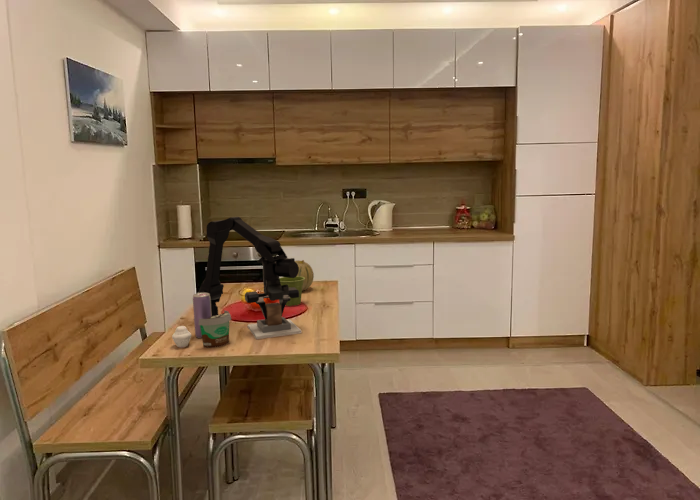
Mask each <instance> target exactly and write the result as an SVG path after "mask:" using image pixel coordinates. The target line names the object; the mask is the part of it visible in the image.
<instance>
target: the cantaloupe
mask: <svg viewBox="0 0 700 500" xmlns="http://www.w3.org/2000/svg"><path fill="white" fill-rule="evenodd" d="M295 262H296V263H297V265H298V267H299V272H298V275H297V276H299V277H304V278H305V279H304V281H303V286H302V292H304V291H306V290H307V289H309V288H310V287H311V286H312V284H313V282H314V277H315V276H314V275H315V274H314V270H313V268H312V266H311V264H310V263H308V262H306V261H305V260H304V259H302V260H295Z"/></svg>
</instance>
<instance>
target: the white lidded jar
mask: <svg viewBox="0 0 700 500" xmlns="http://www.w3.org/2000/svg"><path fill="white" fill-rule="evenodd" d="M191 337H192V333H191V332H190V331H189V330H188V328H187V327H186V326H185V325H179V326H177V327H176V328H175V331H174V333H173V334H172V335H171V338H172V340H173V342H174V344H175V345H176V347H178V348H186V347H188V345H189V343H190V342H191Z"/></svg>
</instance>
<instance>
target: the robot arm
mask: <svg viewBox="0 0 700 500" xmlns="http://www.w3.org/2000/svg"><path fill="white" fill-rule="evenodd" d="M230 231H234V232H236V234H238V235H239V236H240V237H242V238H244V239H245V240H246V241H247V242H249V243H250V244H252V246H253V247H254V249H255V251H256V252H257V253H258V255H259V256H260V258H259V259H258V260H257V261H256V262H257V263H258V264H262V280H263V281H262V282H263V292H262V293H261V292H260V293H258V292H257V291H256V290H255V291H246V292H245V293H244V300H245V302H246V303H247V304H251V303H252V304H254V303H255V304H256V305H259V308H260V310H261V313H262V315H263V317H264V319H267V314H266V308H265V304H266V301H265V299H269V301H271V302H273V301H278V303H279V304H280V305H281V312H282V315H283V313H284V310H285V308H286V306H285V305H286V303H287V302H288V301H290V300H291V299H290V297H291V298H298V297H299V291H298V290H297V289H296V288H295V287H292V288H289V287H288V285H281V283H280V278H282V277H288V278H295V277H296V276H297V275H298V272H299V267H298V265H297V263H296V262H295V261H296V260H295V257H288V256H287V254H286V253H285V251H284V249H283V247H282V246H281V243H280V242H279V240H277V239H275V238H274V237H270V236H267V235H264V234H262V233H261V232H259V231H258V230H256V229H255V228H253V227H252V226H251V225H249V224H248V223H247V222H246V221H244V220H243V218H242V217H240V216H231V217H228V218H225V219H221V220H220V219H219V220H212V221H209V222H208V223H207V225H206V238H207V239H208V242H209V246H208V256H207V264H206V273H205V278H204V280H203V281H202V283H201V284H200V286H199V287H200V288H199V291H198V293H209V294H210V297H211V312H212V316H214V315H219V307H218V306H217V303H219V302H220V301H221V297H222V295H224V287H225V285H224V284H223V283H221V281H220V274H221V273H220V272H221V267H222V266H221V264H222V258H223V257H222V256H223V249H224V244H225V242H226V241H227V240H228V239H229V235H230Z"/></svg>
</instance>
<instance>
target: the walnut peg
mask: <svg viewBox="0 0 700 500" xmlns="http://www.w3.org/2000/svg"><path fill="white" fill-rule="evenodd" d="M265 308H266V314H267V319H265V318H264V319H265V323H266V324H267V325H268V326H272V325H279V324H282V317H283V314H282V312H281V305H280V304H279V301H277V302H270V303H265Z"/></svg>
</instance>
